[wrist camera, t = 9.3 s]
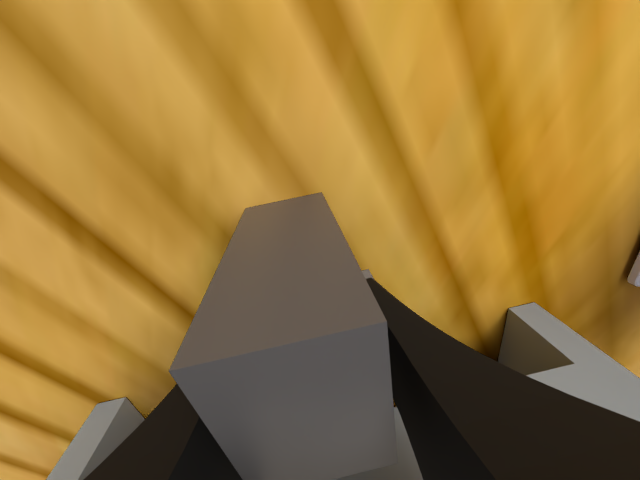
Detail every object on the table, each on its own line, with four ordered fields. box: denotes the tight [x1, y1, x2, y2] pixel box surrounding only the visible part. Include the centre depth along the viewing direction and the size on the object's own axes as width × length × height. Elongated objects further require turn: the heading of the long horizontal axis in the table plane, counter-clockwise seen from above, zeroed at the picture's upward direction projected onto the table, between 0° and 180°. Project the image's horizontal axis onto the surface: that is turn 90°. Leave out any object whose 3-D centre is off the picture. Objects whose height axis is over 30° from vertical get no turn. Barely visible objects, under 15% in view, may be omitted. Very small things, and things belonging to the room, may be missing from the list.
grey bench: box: [46, 302, 640, 480], centre depth 13 cm, size 10×24×6 cm, turn 100°
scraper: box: [169, 192, 398, 480], centre depth 11 cm, size 21×6×7 cm, turn 10°
